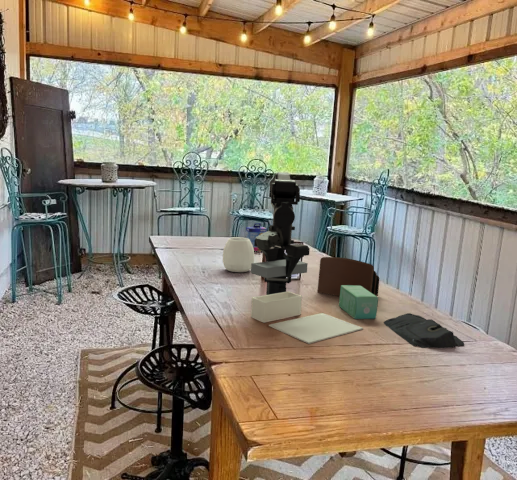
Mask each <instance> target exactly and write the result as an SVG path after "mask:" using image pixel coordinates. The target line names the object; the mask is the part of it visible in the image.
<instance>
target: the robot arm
mask: <svg viewBox="0 0 517 480" xmlns="http://www.w3.org/2000/svg"><path fill="white" fill-rule="evenodd" d="M268 190H269V192H268V198H269V199H270V204H271V207H272V209H273V213H272V214H273V215H272V224H270V225H269V227H268V229H267V230H268V231H267V232H265V233H263V234H261V235H259V236H257V237H256V239H255V242H254V246H256V247H258V248H259V250H261V251H262V253H263V254H264V257H265V260H266V261H265V262H268V261H277V260H285V259H286V276H279V277H272V278H264V277H263V278H264V279H263V281H264V283H266V293H265V295H270V294H276V293H282V292H287V284H290V283H292V276H293V275H291V273H292V272H293V270H294V268H295V266H296V265H297V263H298V262H299V261H300V260H301V259H302V258H304V257H306V256H310V249H311V248H310V247H309V245H307V244H303V243H295V240H294V239H292V232H293V231H296V226H293V223H294V221H295V219H296V218H295V217H296V214H295V211H294V207H293V206H294V205H295V206H297V205H299V203H300V201H301V191H300V190H301V188H300V186H299V184H297V181H296V179H295V180H294V179H292V174H291V173H289V172H280V171H279V172H275V177H274V178H273V179H271V181H269V189H268Z"/></svg>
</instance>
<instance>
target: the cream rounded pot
mask: <svg viewBox="0 0 517 480" xmlns="http://www.w3.org/2000/svg"><path fill="white" fill-rule="evenodd" d="M222 263H223V266H224V268H225V269H226V270H227V271H229V272H233V273H246V272H249V271H251V263H255V252H254V248H253V245H252V243H251V241H250V239H247V238H246V237H242V236H241V237H240V236H239V237H237V236H235V237H233V236H232V237H230V238H228V239H227V241H226V242H225V244H224V247H223V251H222Z"/></svg>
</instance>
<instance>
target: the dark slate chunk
mask: <svg viewBox="0 0 517 480" xmlns="http://www.w3.org/2000/svg"><path fill="white" fill-rule="evenodd" d="M383 324H384V325H385V326H386V327H387V328H388V329H390V330H391V331H392V332H394V333H395V334H396V335H398V336H399V337H400V338H401V339H403V340H405V341H406V342H407V343H408V344H409V345H411V346H413V347H418V348H421V349H432V348H433V349H435V348H436V349H448V348H449V349H450V348H451V349H452V348H456V347H460V346H464V345H465V342H464V341H463V340H461V339H460V338H459V337H458V336H456V335H454V331H451V330H449V329H448V328H447V327H443V326H442V325H441V324H440V323H438V322H436V321H435V320H433V319H429V318H428V319H427V318H425V317H423V316H421V315H418V314H413V313H411V312H410V313H404V314H400V315H398V316H396V317H392V318H389V319H387V320H384V321H383Z"/></svg>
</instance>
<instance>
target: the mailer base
mask: <svg viewBox="0 0 517 480" xmlns="http://www.w3.org/2000/svg"><path fill="white" fill-rule="evenodd" d="M302 299H303V297H302V295H300V294H298V293H294V292H292V291H286V292H282V293H276V294H270V295H266V294H264V295H258V296H253V297H251V311H250V317H251V319H255V320H257V321H259V322H262V323H263V324H264V323H268V322H273V321H278V320H279V321H280V320H282V319H287V318H293V317H296V316H300V315H301V313H302V312H301V311H302V301H303V300H302Z"/></svg>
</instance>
